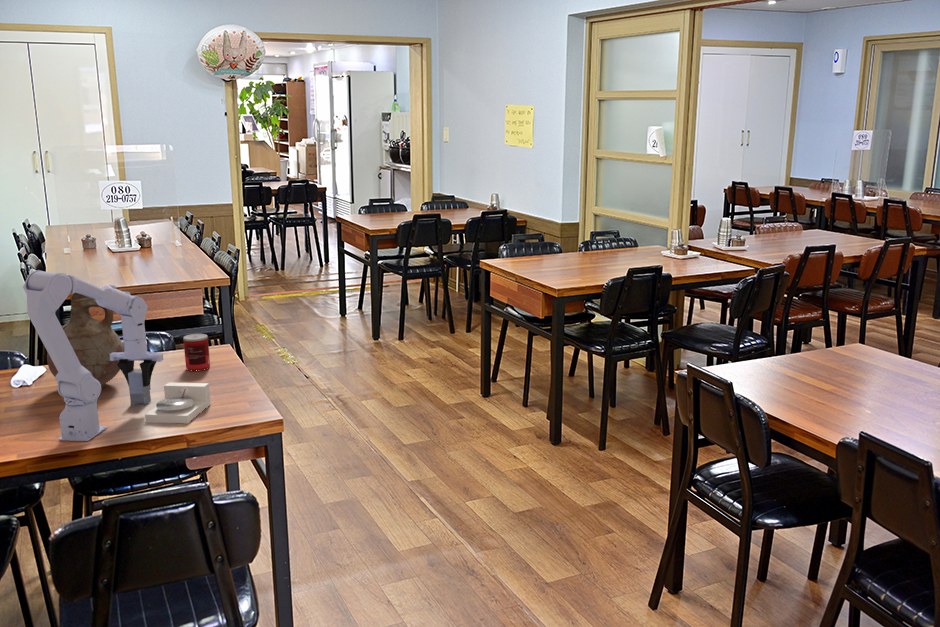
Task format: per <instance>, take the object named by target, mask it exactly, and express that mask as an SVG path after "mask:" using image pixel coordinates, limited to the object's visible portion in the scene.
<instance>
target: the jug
mask: <svg viewBox="0 0 940 627" xmlns="http://www.w3.org/2000/svg"><path fill="white" fill-rule="evenodd" d="M92 307H94V308H101V309H102V310H104V313H105V314H104V318H103V319H102V320H101V321H100V320H98V319H95V318H93V317H92V315H91V313H90V308H92ZM113 321H114V311H112V310H110V309H107V308H104V307H101V306H99V305H98V304H97V303H96V299H94V298H91V297H88V296H85V295H81V294H78V293H74V294H72V295H71V296H70V318H69V321H68V322H67V323H65V324H64V325H61V327H62V328H63V330H64V332H65V334H66V336H67V338H68V340H69V342H70V344H71V346H72V348H73V350H74V352H75V354H76V356H77V358H78V360H79V362H80V364H81V365H82V366H83V367H84V368H86V369H87V370H88V371H89V372H91V374H92V376H93V377H94V378H95V379H97V380H98V381H99V382H100V384H101V390H103V389H104V388H106V386H107V383H109V382H110V381H111V380H112V379H114V378H115V377H116V376H117V375H118V373H120V371H121V370H120V368H119V367H118V366H117V364H118V363H119V360H114V361H110V354H111V353H113V352H125V349H124V343H123V342H122V340H121V338H120V336H119V335H118V334H117V333H116V331H115V330H114V329H113V327H112V324H113ZM46 362H47V365H48V370H49V371H50V373H51V374H52V376H53V377H54V378H55V376H56V375H57V374H58V370H57V368H56V367H55V365H54V363H53V361H52V359H51V357H50V355H49V353H48V352H47V351H46Z"/></svg>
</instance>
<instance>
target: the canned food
mask: <svg viewBox="0 0 940 627" xmlns="http://www.w3.org/2000/svg"><path fill="white" fill-rule="evenodd" d="M182 340H183V350H184V351H183V352H184V360H185V368H186V370H187V369H188V370H187V371H189V370H192V371H191V372H199V371H198V370H203V371H205V370H204V369H207V368H208V369H210V367H211V359H210V346H209V337H208V335H207V334H204V333H191V334H187V335H184V336H183V339H182ZM208 369H207V370H208ZM196 370H197V371H196Z"/></svg>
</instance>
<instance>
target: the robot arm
mask: <svg viewBox="0 0 940 627" xmlns="http://www.w3.org/2000/svg"><path fill="white" fill-rule="evenodd" d="M117 288H118V287H117V286H116V285H113V284H109V285H103V286H102V287H99V286H97V285H95V284H93V283H91V282H88V281H87V280H85V279H82V278H80V277H77V276H75V275H71V274H67V273H64V272H49V271H43V270H40V269H38V270H33V271H32V272H30V273H29V274H28V275H27V277H26V280H25V281H24V284H23V285H22V289H23V290H24V292H25V295H26V306H27V308H26V310H27V311H26V312H27V316H28V318H29V319H30V321H31V323H32V325H33V326H34V329H35V330H36V333H37V334H38V337H39V338H40V340H41V342H42V345H43V346H44V348H45V349H46V353H47V352H48V353H49V355H50V357H51V359H52V361H53V363H54V365H55V367H56V368H57V370H58V374H57V375H56V376H55V377H54V379H55V381H56V384H57V385H56V386H57V388H56V390H57V392H58V394H59V395H60V396H61V397H63V402H65V407H64V409H63V410H62V411H61V412H60V414H59V427H60V435H61V436H60V437H58V440H59V441H66V442H67V441H68V442H69V441H71V442H72V441H73V442H74V441H78V442H88V441H90V440H91V439H93V438H94V437H96V436H98V435H99V434H101V432H103V431H105V430H106V429H107V428H108V426H106V425H100V420H99V418H100V417H99V411H98V403H97V402H98V399H99V396H100V395H101V393H102V389H101V384H100V382H99V381H98V380H97V379H95V378H94V377H93V376H92V374H91V372H89V371H88V370H87V369H86V368H84V367H83V366H82V365H81V364H80V362H79V360H78V358H77V356H76V354H75V352H74V350H73V348H72V346H71V344H70V342H69V340H68V338H67V336H66V334H65V332H64V330H63V328H62V325H61V323H60V321H59V319H58V317H57V315H56V312H57V310H58V309H59V308H60V307H61V306H62V304H63V303H64V302H65V300H66V299H67V298H68V296H70V294H72V295H73V294H74V293H78V294H81V295H85V296H88V297H91V298H94V299H96V303H97V304H98V305H99V306H101V307H104V308H107V309H110V310H112V311H113V312H115V313H116V314H117V315H118V316H120V318H121V320H120V321H121V328H122V338H123V347H124V351H125V352H113V353H111V354H110V361H114V360H119V363H118V364H117V366H118V367H119V368H120V371H121V373H122V374H123V376H124V378H125V380H126V383H127V385H128V387H129V379H128V372H130V371H132V370H134V369H135V362H137V361H138V362H139V361H140V362H141V363H139V367H140V369H141V370H142V374H143V382H144V386H145V387H147V386H149V385H150V386H151V379H152V375H153V371H154V368H155V366H156V364H157V363H159V362H163V361H164V353H163V352H162V353H161V352H152V351H148V346H147V336H146V328H145V327H146V326H145V320H146V314H147V311H148V306H149V305H148V304H147V303H146V301H145V300H144V298H143V297H141V296H135V295H131V292H129V291H128V290H127V291H122V290H120V289H117ZM101 307H100V308H101Z"/></svg>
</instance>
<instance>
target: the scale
mask: <svg viewBox="0 0 940 627" xmlns="http://www.w3.org/2000/svg"><path fill="white" fill-rule="evenodd" d="M163 389H164V390H163V391H164V399H168V398H173V397H190V398H193V399H194V400H195V404H194V405H192V406H191V407H189V408H186V409H182V410H175V411H163V410H159V409H157V407H156V406H155V407H154V408H152V409H150V410H149V411H148V412H146V413H145V414H144V419H145V423H153V424H154V423H156V424H157V423H159V424H161V423H162V424H164V423H165V424H189V423H190V422H192V421H193V420H194V419H195V418H197V417H196V416H197V415H198V414H199V413H200V414H201V413H203V412H204V411H205V410H206V409H208V408H209V407H210V406H211V405H210V404H211V395H210V394H211V393H210V384H209V383H208V382H207V383H205V382H201V383H200V382H167V383H166V384H164V385H163ZM209 405H210V406H209ZM208 406H209V407H208ZM205 408H206V409H205ZM204 409H205V410H204ZM203 410H204V411H203ZM202 411H203V412H202ZM200 414H199V415H200ZM199 415H198V416H199ZM194 417H195V418H194ZM193 418H194V419H193ZM192 419H193V420H192ZM191 420H192V421H191Z"/></svg>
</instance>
